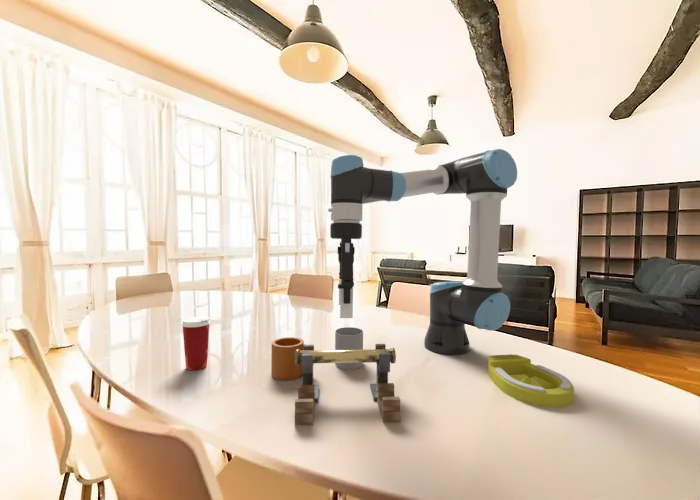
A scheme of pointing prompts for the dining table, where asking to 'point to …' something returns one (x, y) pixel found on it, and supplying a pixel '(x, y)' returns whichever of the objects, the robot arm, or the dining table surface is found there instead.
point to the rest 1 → (305, 405)
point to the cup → (348, 344)
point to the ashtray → (529, 381)
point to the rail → (344, 355)
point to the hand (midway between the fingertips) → (345, 310)
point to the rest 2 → (388, 403)
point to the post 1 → (308, 370)
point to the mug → (286, 358)
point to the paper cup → (196, 341)
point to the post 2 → (381, 370)
